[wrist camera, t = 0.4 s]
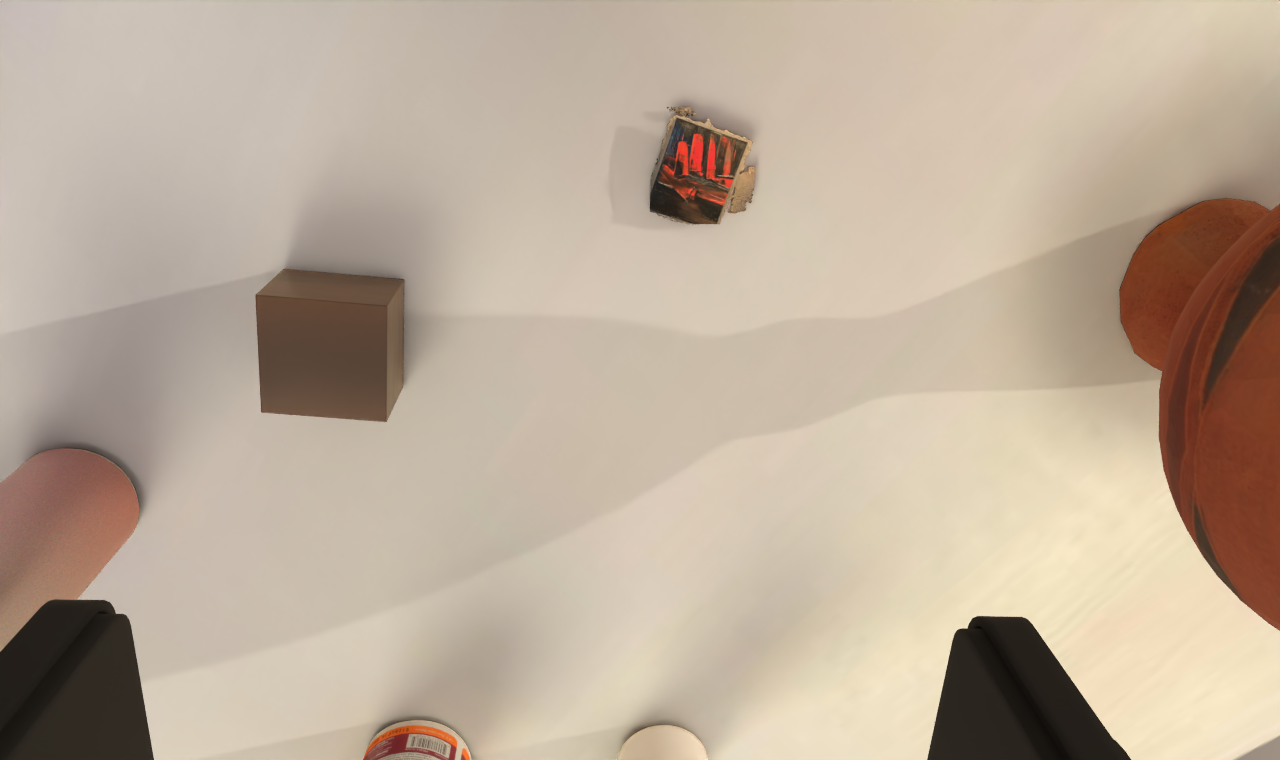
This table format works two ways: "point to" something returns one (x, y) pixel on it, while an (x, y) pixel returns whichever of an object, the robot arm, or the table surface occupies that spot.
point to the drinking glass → (663, 745)
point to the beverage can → (59, 529)
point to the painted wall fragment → (700, 172)
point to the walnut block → (330, 345)
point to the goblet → (1217, 382)
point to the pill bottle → (417, 743)
